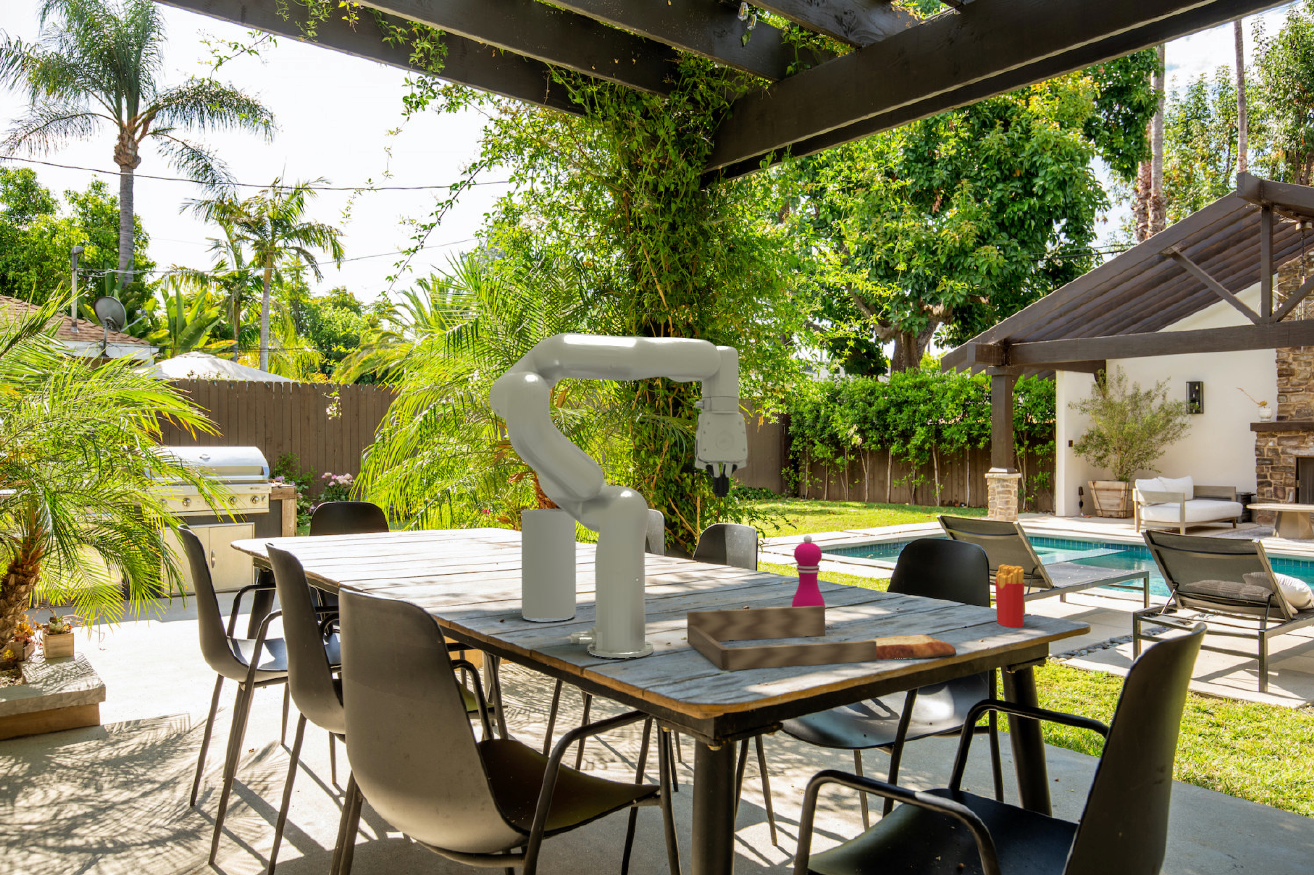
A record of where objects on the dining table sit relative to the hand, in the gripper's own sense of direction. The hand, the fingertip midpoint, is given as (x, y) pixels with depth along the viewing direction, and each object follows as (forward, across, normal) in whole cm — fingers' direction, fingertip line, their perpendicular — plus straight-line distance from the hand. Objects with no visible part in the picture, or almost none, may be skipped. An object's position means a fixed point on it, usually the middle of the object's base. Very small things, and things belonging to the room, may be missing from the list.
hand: (721, 496), depth 178 cm
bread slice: (+30, +29, -20) cm, 46 cm away
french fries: (+29, +66, 0) cm, 72 cm away
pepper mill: (+29, +22, +8) cm, 38 cm away
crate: (+29, +8, -12) cm, 32 cm away
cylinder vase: (+29, -32, +33) cm, 55 cm away
